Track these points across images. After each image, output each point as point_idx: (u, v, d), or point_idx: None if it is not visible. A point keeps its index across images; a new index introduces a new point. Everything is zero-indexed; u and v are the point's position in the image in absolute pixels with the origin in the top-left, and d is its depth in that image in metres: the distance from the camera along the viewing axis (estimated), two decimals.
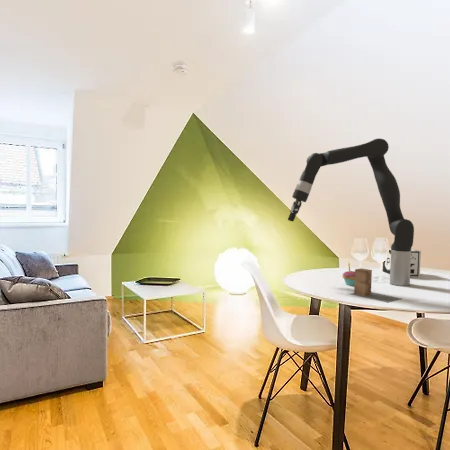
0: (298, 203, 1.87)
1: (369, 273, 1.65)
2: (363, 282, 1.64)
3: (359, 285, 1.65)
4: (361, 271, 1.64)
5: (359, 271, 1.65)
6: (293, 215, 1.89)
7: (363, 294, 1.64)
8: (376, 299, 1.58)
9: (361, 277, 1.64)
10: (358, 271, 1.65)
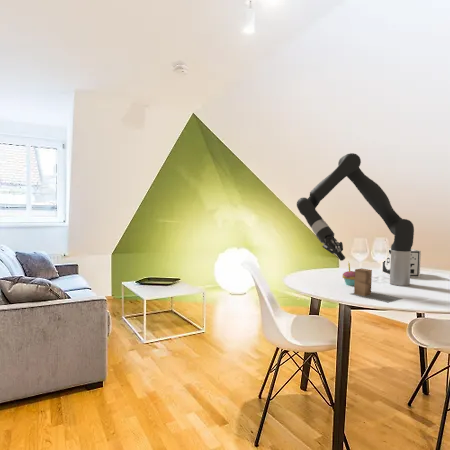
0: (325, 246, 1.75)
1: (369, 273, 1.65)
2: (363, 282, 1.64)
3: (359, 285, 1.65)
4: (361, 271, 1.64)
5: (359, 271, 1.65)
6: None
7: (363, 294, 1.64)
8: (376, 299, 1.58)
9: (361, 277, 1.64)
10: (358, 271, 1.65)
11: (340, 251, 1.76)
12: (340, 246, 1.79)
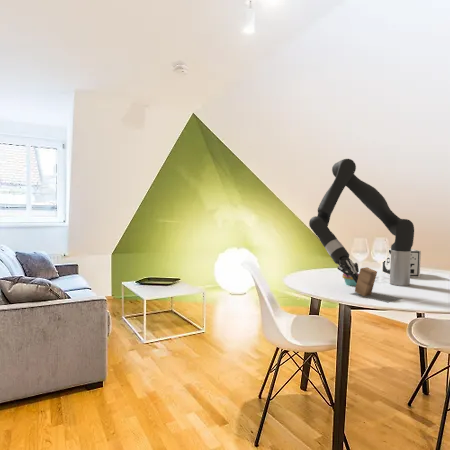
0: (340, 268, 1.69)
1: (374, 275, 1.63)
2: (366, 283, 1.62)
3: (361, 284, 1.64)
4: (366, 272, 1.62)
5: (364, 271, 1.63)
6: None
7: (363, 294, 1.63)
8: (376, 299, 1.58)
9: (365, 277, 1.63)
10: (363, 271, 1.63)
11: (356, 273, 1.70)
12: (355, 267, 1.73)
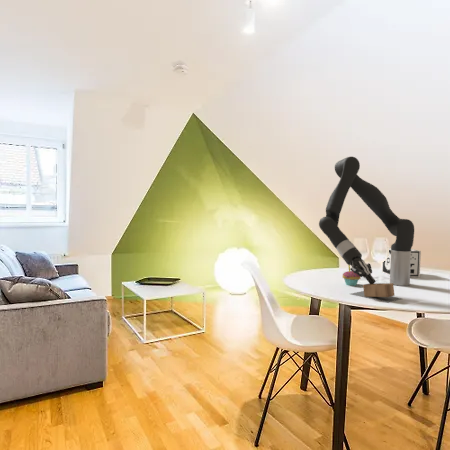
0: (354, 269, 1.63)
1: None
2: (376, 295, 1.59)
3: (372, 290, 1.60)
4: (386, 292, 1.55)
5: (385, 290, 1.55)
6: None
7: (365, 295, 1.63)
8: (376, 299, 1.58)
9: (380, 292, 1.57)
10: (385, 288, 1.56)
11: (369, 274, 1.64)
12: None
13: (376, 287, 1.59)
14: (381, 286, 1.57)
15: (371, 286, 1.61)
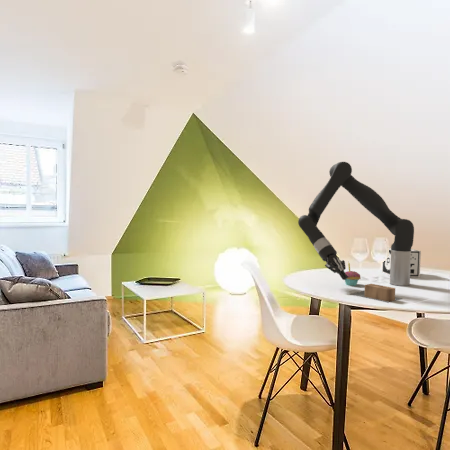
0: (328, 266, 1.74)
1: None
2: (376, 297, 1.59)
3: (373, 292, 1.60)
4: (387, 297, 1.55)
5: (387, 294, 1.55)
6: None
7: (365, 295, 1.63)
8: (376, 299, 1.58)
9: (381, 295, 1.57)
10: (387, 293, 1.55)
11: (343, 270, 1.75)
12: (342, 265, 1.78)
13: (378, 290, 1.58)
14: (383, 290, 1.56)
15: (373, 288, 1.60)
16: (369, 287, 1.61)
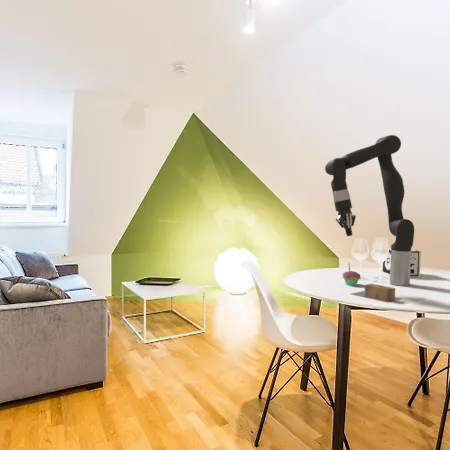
0: (338, 220, 1.78)
1: None
2: (376, 297, 1.59)
3: (373, 292, 1.60)
4: (387, 297, 1.55)
5: (387, 294, 1.55)
6: None
7: (365, 295, 1.63)
8: (376, 299, 1.58)
9: (381, 295, 1.57)
10: (387, 293, 1.55)
11: (350, 227, 1.80)
12: (352, 220, 1.82)
13: (378, 290, 1.58)
14: (383, 290, 1.56)
15: (373, 288, 1.60)
16: (369, 287, 1.61)
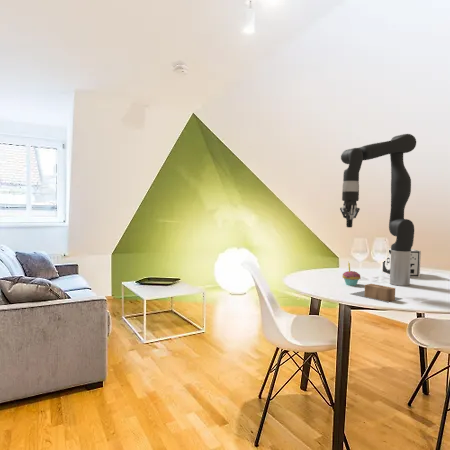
0: (342, 210, 1.78)
1: None
2: (376, 297, 1.59)
3: (373, 292, 1.60)
4: (387, 297, 1.55)
5: (387, 294, 1.55)
6: None
7: (365, 295, 1.63)
8: (376, 299, 1.58)
9: (381, 295, 1.57)
10: (387, 293, 1.55)
11: (352, 219, 1.81)
12: (355, 213, 1.83)
13: (378, 290, 1.58)
14: (383, 290, 1.56)
15: (373, 288, 1.60)
16: (369, 287, 1.61)
